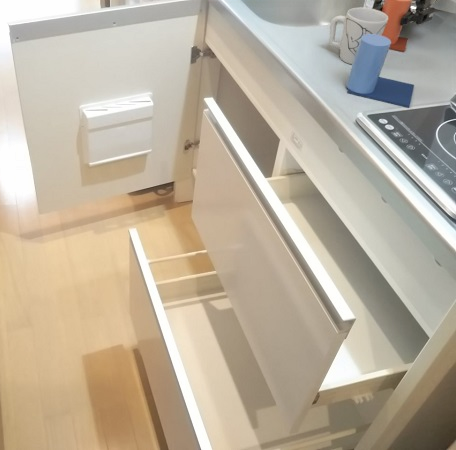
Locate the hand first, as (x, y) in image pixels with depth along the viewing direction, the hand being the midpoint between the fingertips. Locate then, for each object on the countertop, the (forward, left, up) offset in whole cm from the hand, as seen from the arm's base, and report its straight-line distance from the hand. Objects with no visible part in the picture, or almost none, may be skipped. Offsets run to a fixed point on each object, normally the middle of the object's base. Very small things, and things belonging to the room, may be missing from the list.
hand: (389, 17), depth 119 cm
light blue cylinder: (+1, +26, -6) cm, 26 cm away
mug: (+6, +11, -7) cm, 14 cm away
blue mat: (-3, +24, -6) cm, 25 cm away
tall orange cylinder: (-1, -2, -6) cm, 6 cm away
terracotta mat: (-1, -2, -6) cm, 7 cm away
